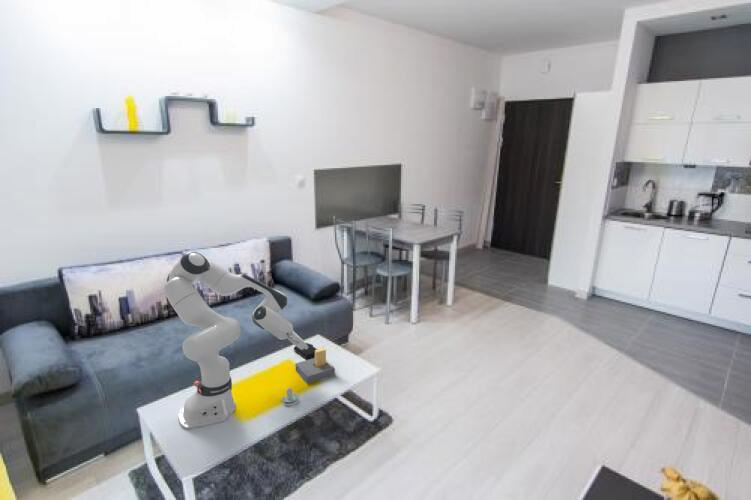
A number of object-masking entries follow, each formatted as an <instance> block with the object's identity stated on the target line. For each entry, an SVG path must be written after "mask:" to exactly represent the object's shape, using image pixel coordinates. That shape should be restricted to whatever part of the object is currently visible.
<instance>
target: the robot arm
mask: <svg viewBox="0 0 751 500" xmlns="http://www.w3.org/2000/svg"><path fill="white" fill-rule="evenodd" d="M196 282H201V283H203V284H204V285H205V286H206V287H208V289H210V290H211V291H212V292H214V293H216V294H217V295H219V296H222V297H228V296H231V295H234V294H235V293H237V292H239V291H241V290H242V289H245V288H252V289H255V290H257V291H258V292H260V293H263V294H264V295H265V297H264V299H263V300H262V301H261V303H259V304H258V306H257V307H256V308H255V310H254V311H253V312H252V314H251V318H252V322H253V323H254V325H255V326H258V327H259V328H260V329H261V330H266V331H268V332H270V333H271V334H272V335H273V336H275V337H276V338H277V339H278V340H281V341H283V340H287V339H288V341H289V342H290V343H291V344H293V345H294V347H295V346H297V347H298V348H299V349H301V350H303V349H306V350H307V349H308V346H307V344H306V343H307V342H305V340H304V339H302V337H300V336H299V335H298V334H297V333H296V332H295V331H294V325H293V324H292V322H290V321H288V320H287V319H286V318H284V317H283V316H282V317H281V315H280V313H281V311H282V310H284V309H285V308H286V306H288V297H287V295H286V294H285V293H284V292H282V291H280V290H277V289H275V288H272V287H270V286H269V285H266V284H264V283H263V282H261V281H259V280H257V279H255V278H253V277H251V276H249V275H248V274H245V273H240V274H235V273H232V272H230V271H228V270H227V269H226V268H225V267H223V266H222V265H221V264H219V263H217V262H215V261H213V260H208V259H207V258H206V257H205V256H204V255H202V254H201V253H199V252H197V251H189V252H187V253H185V254H184V255H182V256H181V257H180V259H179V260H178V262H177V263H176V264H174V266H173V267H172V269H171V271H170V272H169V274H168V275H167V278H166V284H164V287H163V290H164V293H165V296H166V298H167V300H168V302H169V304H170V305H171V307H172V308H173V309H174V311H175V313H176V314H177V315H178V317H179V318H180V319H181V321H182V322H183V323H184V324H185V325H188V326H194V327H198V328H200V329H199V330H197V331H195V332H193V333H191V335H189V336H187V338H185V339H184V340H183V342H182V352H183V354H184V355H185V357H186V358H187V359H189V360H191V361H193V362H196V363H197V364H198V367H199V368H200V369H199V370H200V375H201V376H200V377H201V381H199V380H196V381H194V383H193V385H194V386H195V388H196V391H195V392H193V394H191V395H190V396H189V397H187V399H185V402H184V405H183V407H182V408H180V410H179V411H178V416H177V417H178V423H179V425H180V426H181V427H183V429H185V430H190V429H194V428H199V427H204V426H209V425H213V424H218V423H224V422H225V421H227V419H228V417H229V416H230V415H231V414H233V413H234V412H235V410H236V407H237V405H236V402H235V400H234V397H233V391H232V389H233V388H232V387H233V383H232V382H233V380H232V377H231V373H230V370H231V369H230V362H229V360H228V359H227V358H226V357H224V356H221V355H219V354H220V351H221V350H222V349H224V348H225V347H227V346H229V345H231V344H233V342H235V341H236V340H237V339H238V338H239V337H240V336H241V334H242V333H241V331H242V329H241V325H240V323H239V321H237V320H236V319H235V318H232V317H228V316H224V315H221V314H220V313H218V312H216V311H215V310H214V309H212V308H211V306H209V305H208V304H207V302H206V301H205V299H204V298H203V297H202V296H201V295H200V293H199V292H198V290H197V289H196V288H195V287H194V284H195V283H196Z"/></svg>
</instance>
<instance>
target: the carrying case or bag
mask: <svg viewBox="0 0 751 500" xmlns="http://www.w3.org/2000/svg"><path fill="white" fill-rule="evenodd" d="M305 343H306V344H307V346H308V349H307V350H306V349H303V350H301V349H299V348H298V347H297V346H295V345H294V347H293V351H294V352H296V353H297V354H298V355H299V356H301V357H302V358H304V359H306V360H309V359H313V358H315V350H317V349H318V348H316V347H314V345H313V344H311V343H308V342H305Z"/></svg>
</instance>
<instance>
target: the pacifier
mask: <svg viewBox="0 0 751 500" xmlns="http://www.w3.org/2000/svg"><path fill="white" fill-rule="evenodd" d="M285 393H286V396H283V397H281V400H282V401H283V402H284V403H283V404H284V406H287V407H288V406H289V407H290V406H294V405H296V404H297V403H298V402H299V399H298V393H297V392H294V390H293V388H291V387H289V388H287V389H286V391H285Z"/></svg>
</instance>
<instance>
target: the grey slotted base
mask: <svg viewBox="0 0 751 500" xmlns="http://www.w3.org/2000/svg"><path fill="white" fill-rule="evenodd" d="M335 370H336V369H335V366H334V365H333V363H331V361H329V360H328V359H327V358H326V365H324V366H321V367H317V368H316V367H315V357H313V358H311V359H306V360H303V361H299V362H296V363H295V372H296V373H297V374H298V376H300V378H301V379H302V380H303V381H304V382H305V384H306V385H309V384H312V383H314V382H317V381H322V380H324V379H327V378H331V377H334V376H335V375H336V373H335V372H336V371H335Z"/></svg>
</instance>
